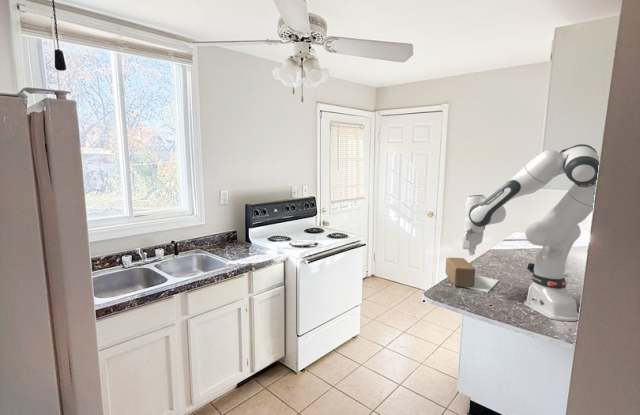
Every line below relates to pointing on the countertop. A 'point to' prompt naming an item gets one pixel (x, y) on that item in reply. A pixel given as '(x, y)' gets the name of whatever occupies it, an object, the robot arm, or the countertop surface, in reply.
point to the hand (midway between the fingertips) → (471, 254)
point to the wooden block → (460, 272)
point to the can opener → (531, 267)
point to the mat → (483, 283)
